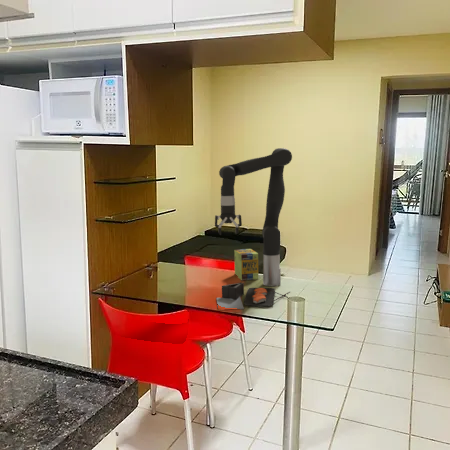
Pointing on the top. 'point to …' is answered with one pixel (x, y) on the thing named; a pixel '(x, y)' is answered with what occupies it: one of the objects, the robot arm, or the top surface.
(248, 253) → the protein box
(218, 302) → the mat
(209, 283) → the top surface
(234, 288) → the phone stand
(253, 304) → the sushi plate
